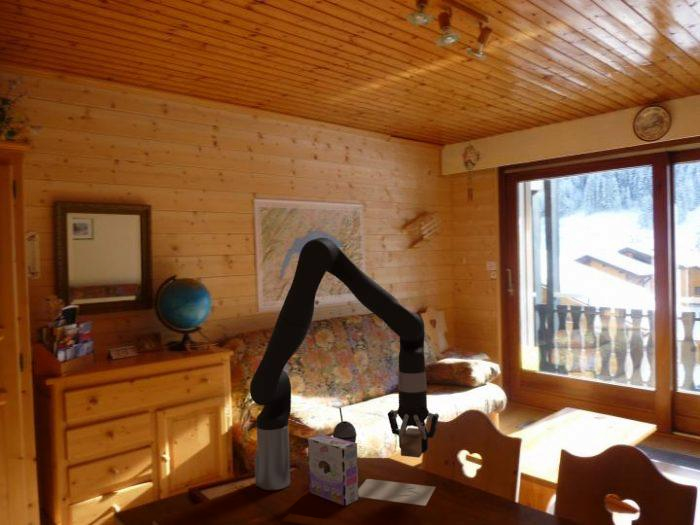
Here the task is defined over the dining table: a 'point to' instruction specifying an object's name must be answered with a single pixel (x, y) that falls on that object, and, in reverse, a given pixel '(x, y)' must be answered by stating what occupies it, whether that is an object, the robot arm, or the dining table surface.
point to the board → (396, 492)
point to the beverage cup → (345, 430)
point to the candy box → (333, 469)
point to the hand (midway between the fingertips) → (413, 450)
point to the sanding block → (411, 443)
